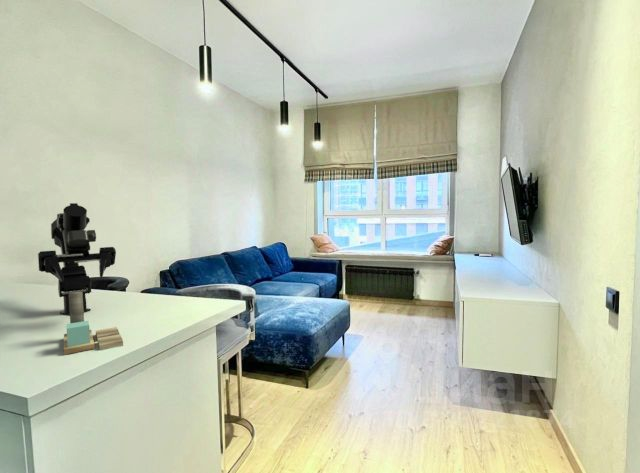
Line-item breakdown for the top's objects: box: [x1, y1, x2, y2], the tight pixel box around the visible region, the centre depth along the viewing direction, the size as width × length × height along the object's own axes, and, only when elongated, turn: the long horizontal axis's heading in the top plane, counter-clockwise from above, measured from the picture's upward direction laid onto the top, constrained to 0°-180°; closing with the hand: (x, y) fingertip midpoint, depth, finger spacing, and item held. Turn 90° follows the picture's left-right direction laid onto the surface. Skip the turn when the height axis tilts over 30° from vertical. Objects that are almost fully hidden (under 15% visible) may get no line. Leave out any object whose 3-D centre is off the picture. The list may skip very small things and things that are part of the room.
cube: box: [65, 320, 90, 347], centre depth 87 cm, size 4×4×4 cm
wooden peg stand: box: [63, 292, 95, 355], centre depth 89 cm, size 14×6×12 cm, turn 36°
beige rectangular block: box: [95, 326, 124, 351], centre depth 92 cm, size 14×5×1 cm, turn 36°
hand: (82, 278), depth 100 cm, fingers open, 9 cm apart
